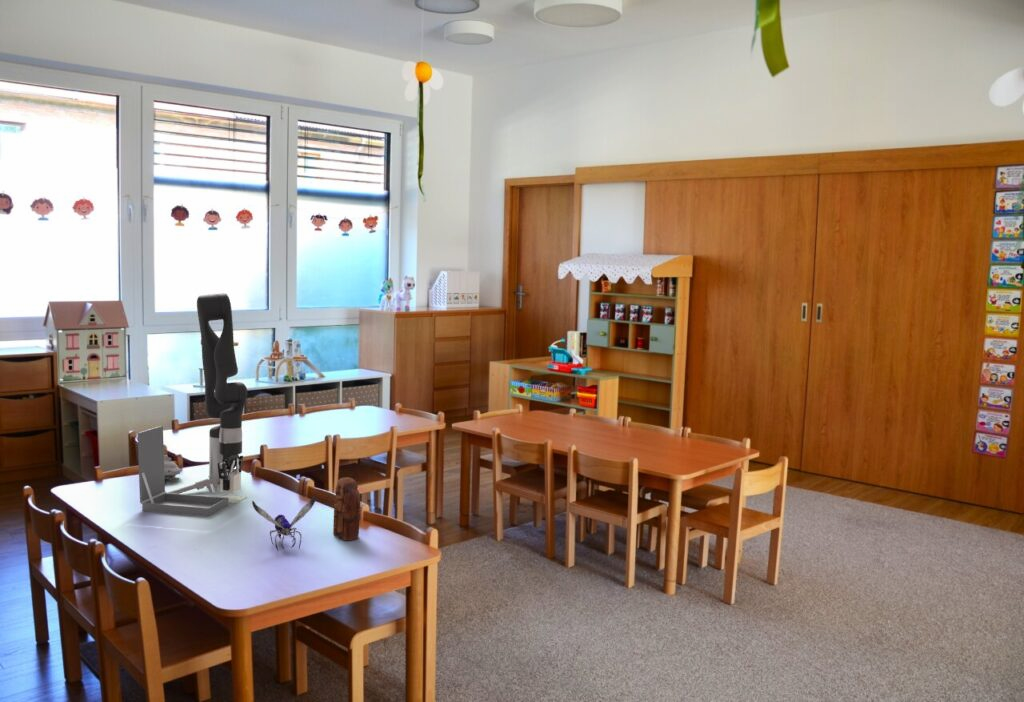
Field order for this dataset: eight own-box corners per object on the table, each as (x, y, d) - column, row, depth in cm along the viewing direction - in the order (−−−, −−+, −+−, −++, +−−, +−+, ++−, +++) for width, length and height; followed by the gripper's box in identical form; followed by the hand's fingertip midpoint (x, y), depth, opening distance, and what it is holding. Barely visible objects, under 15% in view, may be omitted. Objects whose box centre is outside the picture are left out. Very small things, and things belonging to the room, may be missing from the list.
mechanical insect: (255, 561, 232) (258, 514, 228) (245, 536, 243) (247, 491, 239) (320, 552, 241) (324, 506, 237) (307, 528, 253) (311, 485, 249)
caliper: (215, 491, 297) (216, 473, 296) (216, 491, 296) (217, 474, 295) (155, 499, 284) (155, 481, 283) (156, 499, 283) (156, 481, 282)
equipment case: (160, 500, 281) (160, 425, 278) (228, 506, 277) (228, 430, 275) (137, 511, 268) (137, 432, 265) (208, 517, 264) (208, 437, 262)
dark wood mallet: (327, 532, 254) (328, 475, 253) (346, 528, 258) (347, 473, 257) (344, 542, 245) (345, 484, 243) (363, 539, 249) (365, 481, 247)
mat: (225, 496, 289) (225, 494, 289) (247, 498, 288) (247, 496, 288) (214, 502, 281) (214, 500, 281) (236, 504, 280) (236, 502, 280)
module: (227, 488, 287) (227, 471, 286) (240, 489, 286) (240, 472, 286) (220, 492, 282) (220, 474, 281) (233, 493, 281) (233, 476, 280)
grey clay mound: (155, 483, 313) (159, 455, 315) (185, 484, 312) (189, 456, 314) (140, 481, 301) (144, 452, 303) (171, 483, 301) (175, 454, 303)
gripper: (230, 435, 290) (230, 482, 291) (209, 443, 276) (209, 492, 277) (250, 436, 289) (250, 484, 290) (230, 444, 275) (230, 494, 276)
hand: (230, 487), depth 284 cm, fingers closed on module, 5 cm apart
